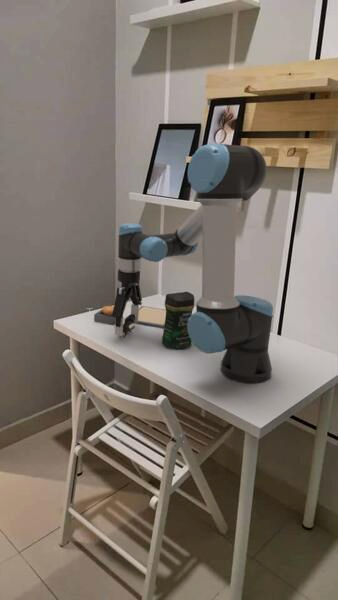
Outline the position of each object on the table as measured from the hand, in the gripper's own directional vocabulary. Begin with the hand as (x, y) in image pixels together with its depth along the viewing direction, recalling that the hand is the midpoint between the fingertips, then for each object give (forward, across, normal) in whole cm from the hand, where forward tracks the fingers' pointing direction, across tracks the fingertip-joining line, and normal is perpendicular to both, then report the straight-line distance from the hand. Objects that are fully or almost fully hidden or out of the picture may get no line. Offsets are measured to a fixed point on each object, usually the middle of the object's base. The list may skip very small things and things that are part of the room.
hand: (126, 328), depth 166 cm
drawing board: (+2, -20, +2) cm, 20 cm away
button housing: (+2, -10, -12) cm, 15 cm away
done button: (0, -10, -12) cm, 15 cm away
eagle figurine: (+2, -1, 0) cm, 3 cm away
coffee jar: (+2, +2, +19) cm, 20 cm away
